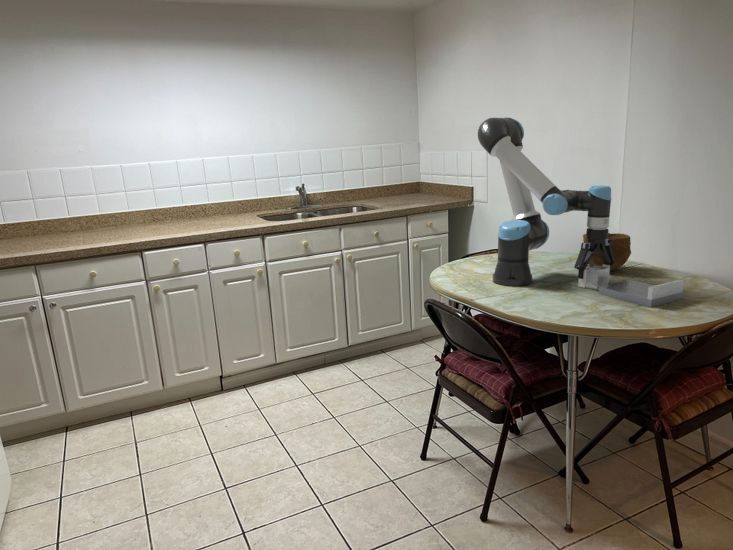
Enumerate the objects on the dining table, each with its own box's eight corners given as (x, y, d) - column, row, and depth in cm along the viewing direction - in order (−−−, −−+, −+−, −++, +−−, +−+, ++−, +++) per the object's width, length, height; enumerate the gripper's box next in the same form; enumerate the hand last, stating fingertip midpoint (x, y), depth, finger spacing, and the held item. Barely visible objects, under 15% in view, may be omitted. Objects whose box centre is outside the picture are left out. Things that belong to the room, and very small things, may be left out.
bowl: (572, 266, 236) (574, 232, 232) (613, 264, 237) (616, 230, 234) (593, 276, 217) (596, 239, 214) (638, 274, 219) (641, 237, 215)
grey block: (596, 288, 201) (598, 268, 199) (579, 283, 207) (580, 264, 206) (607, 286, 204) (609, 266, 202) (589, 281, 210) (591, 262, 208)
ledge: (650, 307, 177) (652, 288, 175) (598, 293, 194) (599, 275, 192) (682, 298, 185) (684, 280, 183) (629, 286, 202) (630, 269, 200)
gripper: (583, 232, 191) (579, 291, 196) (628, 225, 203) (623, 281, 208) (566, 230, 198) (562, 286, 203) (610, 223, 209) (606, 277, 214)
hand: (593, 284), depth 205 cm, fingers open, 12 cm apart
